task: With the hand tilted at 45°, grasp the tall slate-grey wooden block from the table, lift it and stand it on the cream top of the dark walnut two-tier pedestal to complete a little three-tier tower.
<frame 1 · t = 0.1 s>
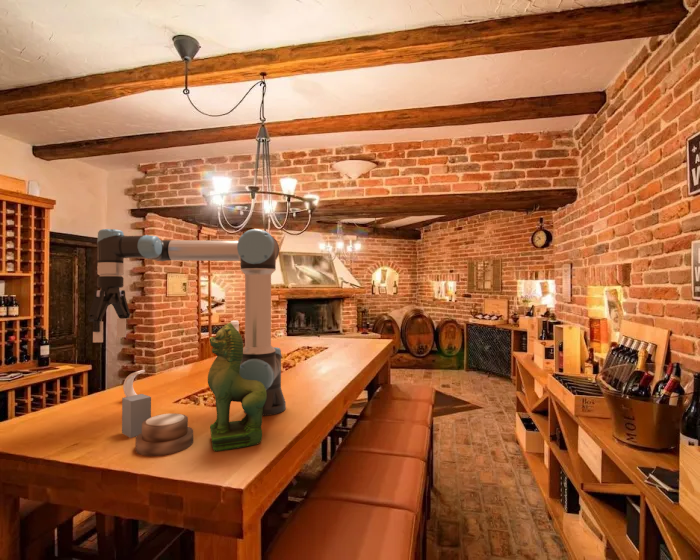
hand: (110, 339, 132), 28 cm above the table, tool pointing down, fingers open, 13 cm apart
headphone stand: (134, 401, 157), on the table
walnut pedestal: (165, 444, 114), on the table
bottle: (234, 386, 181), on the table
lion statue: (237, 441, 117), on the table
slate block: (136, 432, 123), on the table
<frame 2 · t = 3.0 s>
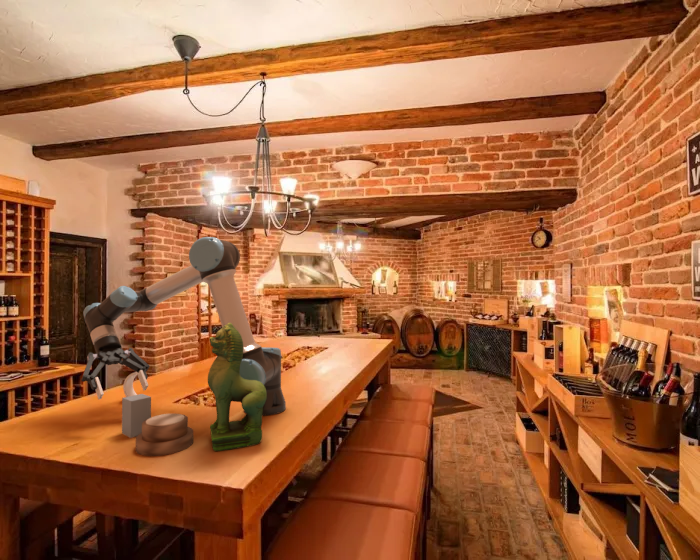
hand: (124, 392, 127), 11 cm above the table, tool tilted 45°, fingers open, 13 cm apart
nothing on the table moved.
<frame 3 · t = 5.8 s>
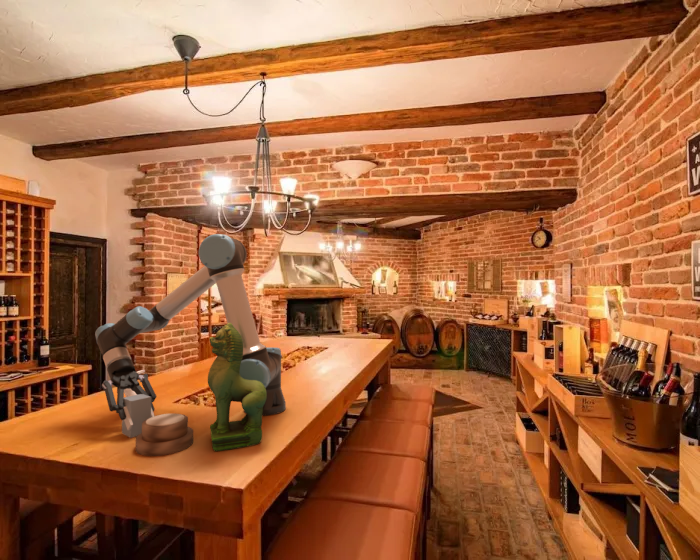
hand: (141, 424, 121), 3 cm above the table, tool tilted 45°, fingers closed on slate block, 6 cm apart
slate block: (136, 432, 123), on the table, touching gripper
everything else where it was.
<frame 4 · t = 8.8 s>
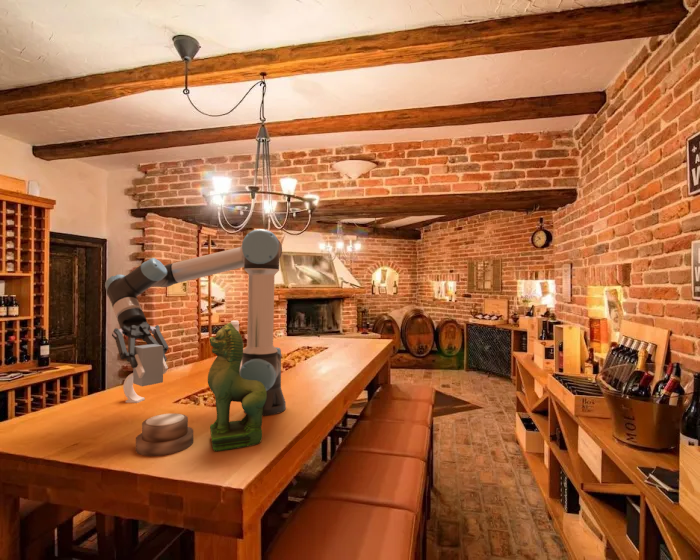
hand: (153, 372, 116), 20 cm above the table, tool tilted 45°, fingers closed on slate block, 6 cm apart
slate block: (148, 382, 118), point 17 cm above the table, touching gripper
everything else where it was.
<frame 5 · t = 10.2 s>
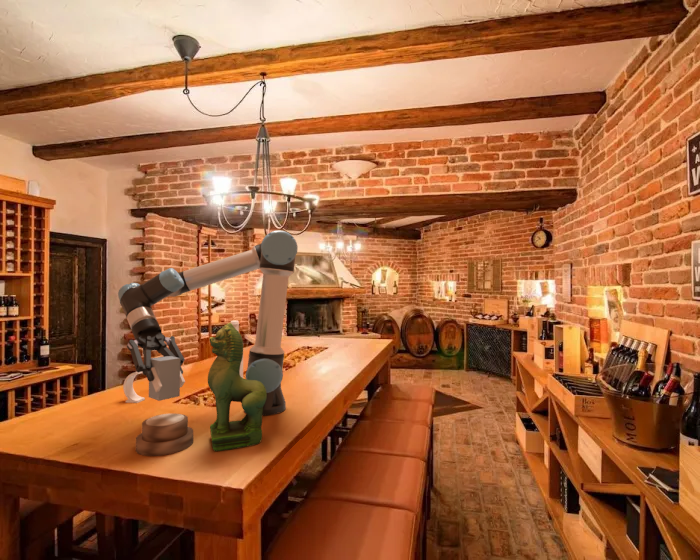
hand: (170, 386, 112), 17 cm above the table, tool tilted 45°, fingers closed on slate block, 6 cm apart
slate block: (164, 396, 114), point 14 cm above the table, touching gripper
everything else where it was.
when the fingers open (12 cm above the table, at t = 11.7 s): slate block stays where it is, resting on walnut pedestal.
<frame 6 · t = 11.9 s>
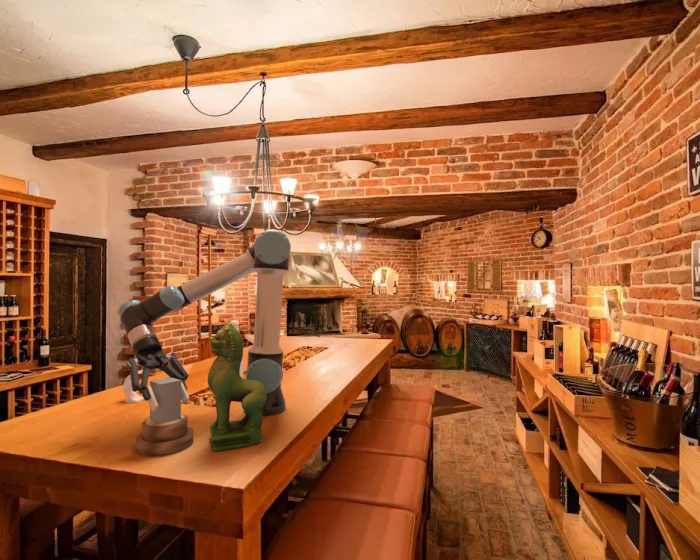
hand: (171, 404, 112), 12 cm above the table, tool tilted 45°, fingers open, 8 cm apart
slate block: (165, 418, 114), point 7 cm above the table, touching walnut pedestal
everything else where it was.
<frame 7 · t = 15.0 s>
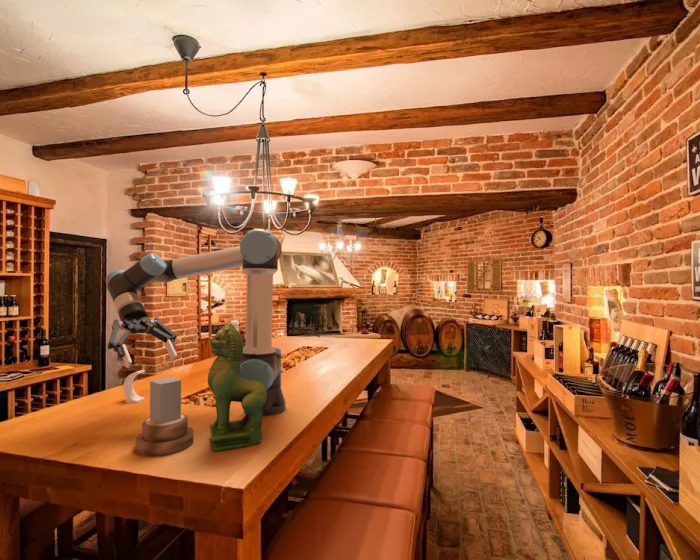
hand: (152, 361, 119), 23 cm above the table, tool tilted 45°, fingers open, 13 cm apart
nothing on the table moved.
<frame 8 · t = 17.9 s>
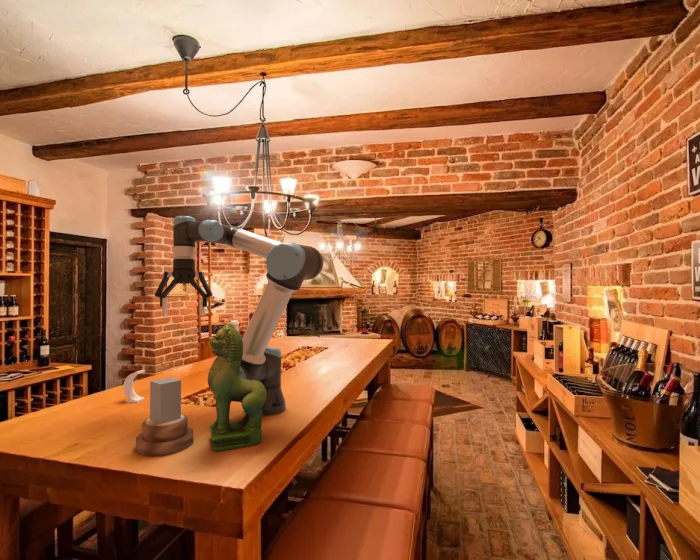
hand: (183, 316, 146), 35 cm above the table, tool pointing down, fingers open, 13 cm apart
nothing on the table moved.
at the end: slate block 0.0 cm off-centre on the walnut pedestal, point 7.4 cm above the walnut pedestal's base; slate block tilted 0°; the gripper is holding nothing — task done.
